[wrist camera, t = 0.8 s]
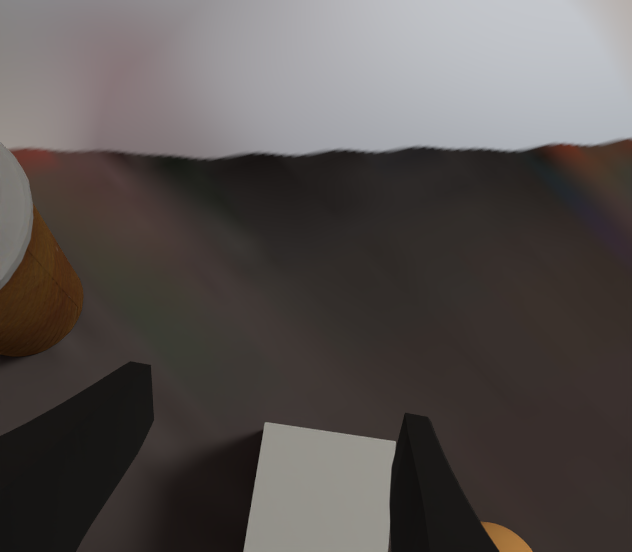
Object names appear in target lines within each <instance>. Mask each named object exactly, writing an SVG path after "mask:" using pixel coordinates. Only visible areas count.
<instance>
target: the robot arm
mask: <svg viewBox="0 0 632 552" xmlns="http://www.w3.org/2000/svg"><path fill="white" fill-rule="evenodd" d="M153 421H154V413H153V396H152V378H151V365H147V364H142V363H136V362H131V361H130V362H129V363H127V364H125V365H123V366H122V367H120V368H119V369H117V370H115V371H114V372H112V373H111V374H109V375H107V376H106V377H104V378H103V379H101V380H99V381H98V382H96V383H95V384H93V385H92V386H90V387H88V388H87V389H85V390H83V391H82V392H80V393H78V394H77V395H75V396H74V397H72V398H70V399H69V400H67V401H65V402H64V403H62V404H60V405H58V406H56V407H55V408H53V409H51V410H49V411H47V412H46V413H44V414H42V415H40V416H38V417H37V418H35V419H33V420H31V421H30V422H28V423H26V424H24V425H22V426H20V427H18V428H16V429H14V430H12V431H10V432H8V433H6V434H4V435H1V436H0V552H76V550H77V548H78V547H79V545H80V543H81V541H82V539H83V537H84V536H85V534H86V532H87V531H88V529H89V528H90V526H91V524H92V523H93V521H94V520H95V518H96V517H97V515H98V513H99V512H100V510H101V509H102V507H103V506H104V504H105V503H106V501H107V500H108V498H109V497H110V495H111V494H112V492H113V491H114V489H115V488H116V486H117V485H118V483H119V482H120V480H121V478H122V477H123V475H124V474H125V472H126V471H127V469H128V468H129V466H130V465H131V463H132V461H133V460H134V458H135V457H136V455H137V454H138V452H139V450H140V448H141V446H142V444H143V442H144V440H145V438H146V436H147V434H148V432H149V429H150V427H151V425H152V423H153ZM389 508H390V530H391V550H392V552H500V551H499V550H498V548H497V547H496V545H495V544H494V542H493V541H492V539H491V538H490V536H489V535H488V533H487V532H486V530H485V528H484V527H483V525H482V524H481V522H480V520H479V519H478V517H477V515H476V514H475V512H474V510H473V509H472V507H471V505H470V503H469V502H468V500H467V498H466V496H465V494H464V493H463V491H462V489H461V487H460V485H459V483H458V481H457V479H456V477H455V475H454V473H453V471H452V469H451V467H450V465H449V463H448V461H447V459H446V457H445V455H444V452H443V450H442V448H441V446H440V443H439V441H438V438H437V436H436V434H435V431H434V428H433V426H432V423H431V421H430V419H429V418H428V417H425V416H420V415H414V414H409V413H405V415H404V419H403V423H402V427H401V431H400V435H399V439H398V443H397V447H396V451H395V455H394V459H393V463H392V467H391V483H390V500H389Z"/></svg>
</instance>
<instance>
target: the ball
mask: <svg viewBox="0 0 632 552" xmlns="http://www.w3.org/2000/svg"><path fill="white" fill-rule="evenodd" d="M481 524H482V525H483V527H484V528H485V530H486V532H487V533H488V535H489V536H490V538H491V539H492V541H493V542H494V544H495V545H496V547H497V548H498V550H499V551H500V552H533V551H532V550H531V549H530V547H529V546H528V545H527V544H526V543H525V541H523V540H522V539H521V538H520V537H519V536H518V535H517V534H515V533H514V532H512V531H511V530H509V529H507V528H505V527H503V526H500V525H498V524H494V523H489V522H481Z"/></svg>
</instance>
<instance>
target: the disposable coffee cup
mask: <svg viewBox="0 0 632 552" xmlns="http://www.w3.org/2000/svg"><path fill="white" fill-rule="evenodd" d="M82 304H83V288H82V285H81V282H80V279H79V277H78V276H77V274H76V273H75V271H74V270H73V268H72V266H71V265H70V263H69V262H68V260H67V258H66V257H65V255H64V253H63V252H62V250H61V248H60V247H59V245H58V243H57V242H56V240H55V238H54V237H53V235H52V233H51V232H50V230H49V229H48V227H47V225H46V224H45V222H44V220H43V219H42V217H41V216H40V214H39V212H38V211H37V209H36V208H35V206H34V204H33V203H32V197H31V192H30V186H29V180H28V178H27V176H26V175H25V173H24V171H23V169H22V167H21V166H20V164H19V163H18V161H17V160H16V158H15V157H14V155H13V154H12V153H11V152H10V151H9V150H8V149H7V148H6V147H5V146H4V145H3V144H2V143H0V355H6V356H12V357H14V356H28V355H33V354H36V353H39V352H42V351H44V350H47V349H48V348H50V347H52V346H53V345H55V344H56V343H58V342H59V341H60V340H61V339H63V338H64V337H65V336H66V335H67V334H68V333H69V332H70V331H71V329H72V328H73V327H74V325H75V323H76V321H77V320H78V318H79V315H80V313H81V311H82Z"/></svg>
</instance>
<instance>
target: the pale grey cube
mask: <svg viewBox="0 0 632 552" xmlns="http://www.w3.org/2000/svg"><path fill="white" fill-rule="evenodd" d="M395 445H396V441H389V440H382V439H375V438H369V437H362V436H355V435H348V434H342V433H335V432H328V431H321V430H315V429H308V428H301V427H295V426H288V425H281V424H274V423H268V422H265V425H264V431H263V437H262V443H261V449H260V455H259V461H258V467H257V473H256V479H255V485H254V491H253V497H252V503H251V509H250V515H249V521H248V527H247V533H246V539H245V545H244V551H243V552H388V542H389V528H390V508H389V500H390V483H391V467H392V463H393V459H394V455H395Z"/></svg>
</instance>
